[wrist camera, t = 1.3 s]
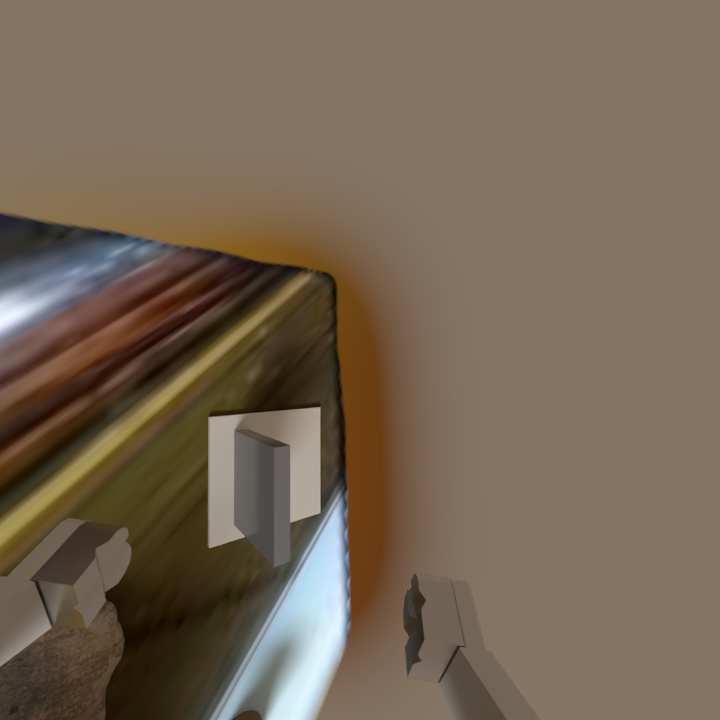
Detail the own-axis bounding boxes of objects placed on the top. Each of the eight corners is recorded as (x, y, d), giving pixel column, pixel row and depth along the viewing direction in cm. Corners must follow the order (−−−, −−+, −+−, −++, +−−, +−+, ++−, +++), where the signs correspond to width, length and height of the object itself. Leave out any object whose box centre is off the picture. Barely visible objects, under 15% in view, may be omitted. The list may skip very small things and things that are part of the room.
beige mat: (207, 546, 42) (209, 548, 42) (208, 416, 43) (209, 417, 42) (318, 511, 52) (320, 512, 52) (318, 407, 53) (320, 407, 52)
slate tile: (233, 524, 44) (273, 567, 34) (234, 430, 44) (274, 447, 35) (249, 520, 45) (291, 560, 36) (249, 428, 45) (291, 444, 36)
